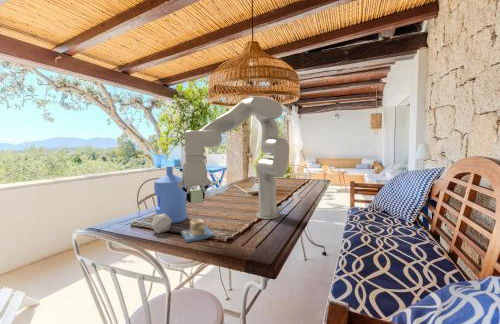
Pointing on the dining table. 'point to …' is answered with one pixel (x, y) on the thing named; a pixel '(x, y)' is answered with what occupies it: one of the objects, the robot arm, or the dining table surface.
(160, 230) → the die
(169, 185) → the water jug
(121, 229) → the dining table surface
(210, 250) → the dining table surface
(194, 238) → the board
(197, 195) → the green block
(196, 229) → the pine block
